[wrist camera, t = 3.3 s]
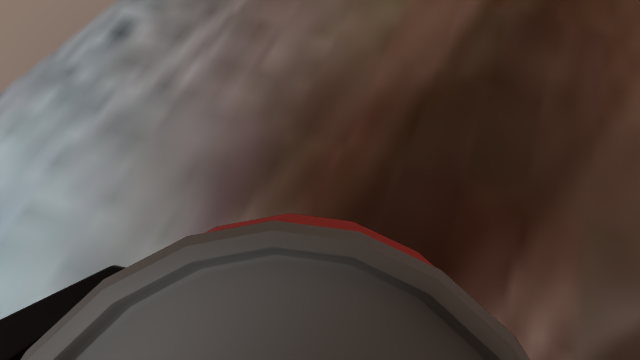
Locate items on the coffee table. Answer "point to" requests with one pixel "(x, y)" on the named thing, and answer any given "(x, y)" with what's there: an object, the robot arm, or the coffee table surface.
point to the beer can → (279, 302)
